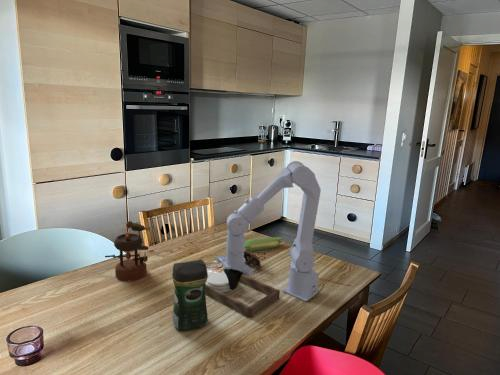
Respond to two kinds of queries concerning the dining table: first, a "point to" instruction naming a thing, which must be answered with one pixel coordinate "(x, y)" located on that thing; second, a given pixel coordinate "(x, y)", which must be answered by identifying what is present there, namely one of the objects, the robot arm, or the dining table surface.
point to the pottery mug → (251, 259)
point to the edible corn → (262, 243)
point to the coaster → (218, 282)
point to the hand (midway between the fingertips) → (233, 288)
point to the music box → (130, 242)
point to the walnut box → (241, 307)
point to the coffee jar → (189, 295)
